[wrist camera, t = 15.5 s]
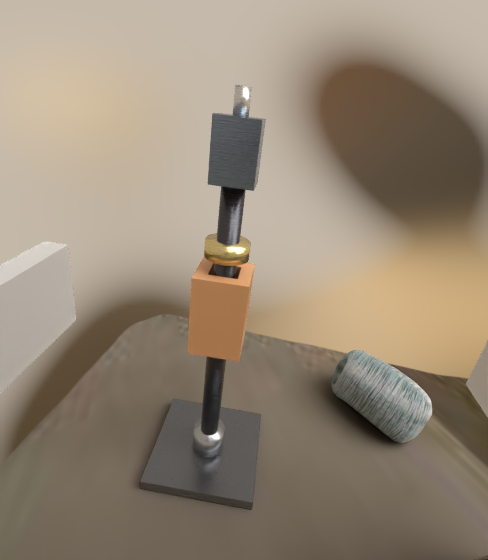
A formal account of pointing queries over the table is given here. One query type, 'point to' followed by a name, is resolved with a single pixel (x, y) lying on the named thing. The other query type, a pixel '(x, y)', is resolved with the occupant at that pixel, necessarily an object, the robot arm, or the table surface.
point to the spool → (382, 395)
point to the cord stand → (210, 415)
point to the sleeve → (219, 311)
